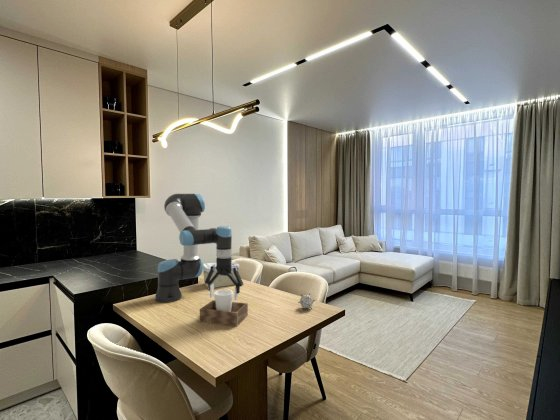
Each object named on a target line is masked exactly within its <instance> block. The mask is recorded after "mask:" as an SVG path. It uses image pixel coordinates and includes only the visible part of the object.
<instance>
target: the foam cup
mask: <svg viewBox="0 0 560 420" xmlns="http://www.w3.org/2000/svg"><path fill="white" fill-rule="evenodd" d="M213 297H214V300H215V302H216V309H217V310H220V311H230V312H231V307H232V302H233V299H234V290H231V289H220V290H216V291H214V296H213Z"/></svg>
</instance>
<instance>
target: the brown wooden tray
mask: <svg viewBox="0 0 560 420" xmlns="http://www.w3.org/2000/svg"><path fill="white" fill-rule="evenodd" d="M248 305H249V304H248V302H236V301H232V307H231V312H230V311H220V310H217V309H216V302H215V299H212V300H211V301H209V302H208V303H207V304H205V305H204V306H202V307H201V308H200V309H199V323H203V324H205V323H206V324H212V325H221V326H222V325H223V326H231V327H238V326H240V324H241V323H242V322H243V321H244V320H245V319H246V318H247V317H248V315H249V313H248V312H249V311H248V310H249V309H248V308H249V307H248Z"/></svg>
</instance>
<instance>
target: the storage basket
mask: <svg viewBox="0 0 560 420" xmlns="http://www.w3.org/2000/svg"><path fill="white" fill-rule="evenodd" d="M213 265H215V266H217V264H216V262H211V263H210V262H208V263H203V271H202V273H203V279H204V285H205V286H206V288H208V284H207V283H205V280H206V278H207V276H208V274H209V272H210V269H211V266H213ZM231 267H232V268H233V267H237V269H238V273H239V274H240V264H239V263H238V262H235V261H234V260H231ZM217 272H218V271H217V270H216V269H215V270H214V272H213V274H212V276H211V279H212V278H213V277H214V275H215V274H216V273H217ZM231 272H232V274H233V276H234V277H235V275H234V272H233V271H232V270H231ZM235 278H236V277H235ZM211 279H210V280H211ZM236 280H237V279H236ZM212 284H214V289H215V288H222V287H228V286H235V285H234V283H233V282H232V281H231V279H230V278H229V277H228V276H227V275H226V276H224V275H219V276H218V277H217V278H216V279H215V280H214V282H213V283H212Z"/></svg>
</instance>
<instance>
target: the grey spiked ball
mask: <svg viewBox="0 0 560 420" xmlns="http://www.w3.org/2000/svg"><path fill="white" fill-rule="evenodd" d="M300 296H301V298H300V299H299V301H298V302H297V304H300V306H301V307H302V310H303V311H304V310H305V309H311V310H312V309H313V308H312V306H313V304H314V302H316V300H314V299H313V298H312V296H311V294H310V293H308V294H300Z"/></svg>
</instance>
